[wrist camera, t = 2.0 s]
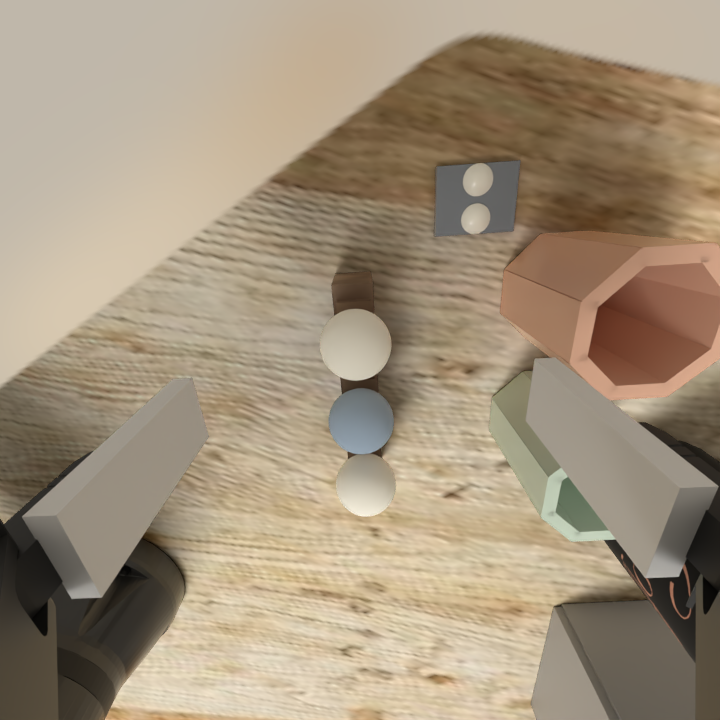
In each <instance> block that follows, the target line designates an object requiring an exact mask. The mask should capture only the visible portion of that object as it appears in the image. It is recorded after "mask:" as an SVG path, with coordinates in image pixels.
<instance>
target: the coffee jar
mask: <svg viewBox="0 0 720 720" xmlns="http://www.w3.org/2000/svg"><path fill="white" fill-rule="evenodd" d="M678 442H679V443H681V444H682V447H686V448H687V449H689V450H690V451H691V452H693V453H694V454H695V456H696V457H699V458H701V459H702V460H703V461H705V462H706V463H707V464H709V465H710V466H712V467H713V468H714V469H716V470H717V471H718V472H720V462H719V461H717V460H716V459H714V458H713V457H711V456H710V455H709V454H707V453H706V452H704V451H703V450H701V449H699V448H697V447H695V446H692V445H690V444H688V443H685V442H682V441H678ZM604 541H605V542H606V544H607V545H608V546H609V548H610V549H611V550H612V552H613V553H614V555H615V556H616V557H617V559H618V560H619V561H620V563H621V564H622V565H623V567H624V568H625V569H626V571H627V572H628V573H629V575H630V576H631V577H632V579H633V580H634V581H635V583H636V584H637V585H638V587H639V588H640V589H641V591H642V592H643V594H644V595H645V596H646V598H647V599H648V600H649V602H650V603H651V604H652V606H653V607H654V608H655V610H656V611H657V612H658V614H659V615H660V616H661V618H662V619H663V620H664V622H665V623H666V624H667V626H668V627H669V629H670V630H671V631H672V633H673V634H674V635H675V637H676V638H677V639H678V641H679V642H680V643H681V645H682V646H683V647H684V649H685V650H686V651H687V653H688V654H689V655H690V657H691V658H692V659H693V661H694V662H695V663H696V603H695V604H694V606H693V608H692V609H690V608H688V607H686V604H687V601H688V599H689V597H690V595H691V593H692V591H693V589H694V587H695V584H696V582H697V580H698V578H699V576H700V574H701V573H700V572H699V571H698V570H697V569H696V568H695V567H694V566H693V564H692V563H691V562H690V561H689V560H688V559H686V561H685V563H684V566H683V568H682V570H681V572H680V575H679V577H662V578H645V577H644V576H643V575H642V573H641V572H640V571H639V569H638V568H637V567H636V565H635V564H634V563H633V561H632V560H631V559H630V558H629V556H628V555H627V554H626V552H625V551H624V550H623V548H622V547H621V546H620V544H619V543H618V542H617V540H616V539H615V540H604Z"/></svg>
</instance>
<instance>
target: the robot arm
mask: <svg viewBox="0 0 720 720" xmlns="http://www.w3.org/2000/svg"><path fill="white" fill-rule="evenodd" d="M526 422H527V423H528V424H529V426H530V427H531V428H532V430H533V431H534V432H535V434H536V435H537V436H538V438H539V439H540V440H541V442H542V443H543V444H544V446H545V447H546V448H547V449H548V451H549V452H550V453H551V455H552V456H553V457H554V459H555V460H556V461H557V463H558V464H559V465H560V467H561V468H562V469H563V471H564V472H565V473H566V475H567V476H568V477H569V478H570V480H571V481H572V482H573V484H574V485H575V486H576V488H577V489H578V490H579V492H580V493H581V494H582V496H583V497H584V498H585V500H586V501H587V502H588V503H589V505H590V506H591V507H592V509H593V510H594V511H595V513H596V514H597V515H598V517H599V518H600V519H601V521H602V522H603V523H604V525H605V526H606V527H607V529H608V530H609V531H610V532H611V534H612V535H613V536H614V538H615V539H616V540H617V542H618V543H619V544H620V546H621V547H622V548H623V550H624V551H625V552H626V554H627V555H628V556H629V558H630V559H631V560H632V561H633V563H634V564H635V565H636V567H637V568H638V569H639V571H640V572H641V573H642V575H643V576H644V577H645V578H662V577H679V575H680V572H681V570H682V568H683V566H684V563H685V561H686V559H688V560H689V561H690V562H691V563H692V564H693V566H694V567H695V568H696V569H697V570H698V571H699V572H700V573H701V574H700V576H699V578H698V580H697V582H696V584H695V587H694V589H693V591H692V593H691V595H690V597H689V599H688V601H687V604H686V607H688V608H690V609H692V608H693V606H694V604H695V603H696V676H695V720H720V472H718V471H717V470H716V469H714V468H713V467H712V466H710V465H709V464H707V463H706V462H705V461H703V460H702V459H701V458H699V457H696V456H695V454H694V453H693V452H691V451H690V450H689V449H687V448H686V447H682V444H681V443H679V442H678V441H677V440H675V439H674V438H673V437H671V436H670V435H669V434H667V433H666V432H664V431H662V430H660V429H658V428H656V427H654V426H652V425H649V424H647V423H645V422H639V423H638V422H636V421H635V420H634V419H633V418H631V417H630V416H629V415H628V414H626V413H625V412H624V411H622V410H621V409H620V408H619V407H617V406H616V405H615V404H614V403H612V402H611V401H610V400H609V399H607V398H606V397H605V396H603V395H602V394H601V393H600V392H598V391H597V390H596V389H595V388H593V387H592V386H591V385H589V384H588V383H587V382H586V381H584V380H583V379H582V378H581V377H579V376H578V375H577V374H576V373H574V372H573V371H572V370H570V369H569V368H568V367H567V366H565V365H564V364H563V363H562V362H560V361H559V360H558V359H556V358H538V359H534V366H533V373H532V380H531V387H530V394H529V401H528V407H527V414H526ZM208 437H209V435H208V432H207V428H206V425H205V421H204V418H203V414H202V411H201V407H200V404H199V400H198V397H197V393H196V390H195V386H194V383H193V379H192V378H181V379H172V380H171V381H170V382H169V383H168V384H167V385H166V386H165V387H163V388H162V389H161V390H160V391H159V392H158V393H157V394H156V395H155V396H154V397H153V398H151V399H150V400H149V401H148V402H147V403H146V404H145V405H144V406H143V407H142V408H140V409H139V410H138V411H137V412H136V413H135V414H134V415H133V416H132V417H131V418H130V419H128V420H127V421H126V422H125V423H124V424H123V425H122V426H121V427H120V428H119V429H117V430H116V431H115V432H114V433H113V434H112V435H111V436H110V437H109V438H108V439H107V440H105V441H104V442H103V443H102V444H101V445H100V446H99V447H98V448H97V449H96V450H94V451H92V452H90V453H88V454H87V455H85V456H83V457H82V458H80V459H78V460H77V461H75V462H74V463H72V464H71V465H70V466H69V467H68V468H67V469H66V470H65V471H63V472H62V473H61V474H60V475H59V478H56V479H54V480H53V481H52V482H51V483H50V484H49V485H48V486H47V488H46V489H43V490H42V491H41V492H40V493H39V494H38V495H36V496H35V497H34V498H33V499H32V500H31V501H30V502H29V503H27V504H26V505H25V506H24V507H23V508H22V509H21V510H20V511H18V512H17V513H16V514H15V515H14V516H13V517H12V518H11V519H9V520H8V521H7V522H6V523H5V524H3V523H2V521H1V519H0V720H105V718H106V716H107V714H108V712H109V709H110V707H111V705H112V703H113V701H114V699H115V697H116V695H117V693H118V691H119V690H120V688H121V687H122V685H123V684H124V683H125V682H126V680H127V679H128V678H129V677H130V675H131V674H132V673H133V672H134V670H135V669H136V668H137V667H138V665H139V664H140V663H141V662H142V660H143V659H144V658H145V657H146V655H147V654H148V653H149V651H150V650H151V649H152V647H153V646H154V645H155V644H156V642H157V641H158V639H159V638H160V637H161V636H162V635H163V634H164V633H165V632H166V631H167V630H168V628H169V627H170V625H171V623H172V622H173V620H174V618H175V615H176V613H177V611H178V609H179V607H180V604H181V602H182V600H183V597H184V590H185V587H184V581H183V578H182V575H181V573H180V571H179V569H178V568H177V566H176V565H175V564H174V562H173V561H172V560H171V559H170V558H169V557H168V556H167V555H166V554H165V553H164V552H162V551H161V550H160V549H158V548H157V547H156V546H154V545H153V544H151V543H149V542H147V541H146V540H144V539H142V536H143V535H144V533H145V532H146V530H147V529H148V527H149V526H150V524H151V523H152V521H153V520H154V518H155V517H156V515H157V514H158V512H159V511H160V509H161V508H162V506H163V505H164V503H165V502H166V500H167V499H168V497H169V496H170V494H171V493H172V491H173V490H174V488H175V487H176V485H177V484H178V482H179V481H180V479H181V478H182V476H183V475H184V473H185V472H186V470H187V469H188V467H189V466H190V464H191V463H192V461H193V460H194V458H195V457H196V455H197V454H198V452H199V451H200V449H201V448H202V446H203V445H204V443H205V442H206V440H207V439H208Z"/></svg>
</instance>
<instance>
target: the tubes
mask: <svg viewBox="0 0 720 720" xmlns="http://www.w3.org/2000/svg"><path fill="white" fill-rule="evenodd" d="M519 170H520V160H519V161H505V162H491V163H477V164H463V165H450V166H437V167H435V222H434V236H435V237H436V236H451V235H465V234H480V233H495V232H509V231H513V229H514V219H515V210H516V200H517V190H518V180H519ZM500 314H501V315H502V316H503V317H505V318H506V319H507V320H508V321H509V322H510V323H511V324H512V325H513V326H514V327H515V328H516V329H517V330H518V331H519V332H520V333H521V334H522V335H523V336H524V337H525V338H526V339H527V340H528V341H529V342H531V343H532V344H533V345H535V346H536V347H537V348H538V349H540V350H541V351H542V352H544V353H545V354H546V355H548V356H549V357H550V358H556V359H558V360H559V361H560V362H562V363H563V364H564V365H565V366H567V367H568V368H569V369H570V370H572V371H573V372H574V373H576V374H577V375H578V376H579V377H581V378H582V379H583V380H584V381H586V382H587V383H588V384H589V385H591V386H592V387H593V388H595V389H596V390H597V391H598V392H600V393H601V394H602V395H603V396H605V397H606V398H607V399H609V400H621V399H638V398H655V397H667V396H669V395H670V394H672V393H673V392H674V391H676V390H677V389H679V388H680V387H681V386H683V385H684V384H685V383H687V382H688V381H690V380H691V379H692V378H694V377H695V376H697V375H698V374H699V373H701V372H702V371H703V370H705V369H706V368H708V367H709V366H710V365H712V364H713V363H715V362H716V361H717V360H719V359H720V247H719V246H718V244H717V243H714V242H703V241H693V240H682V239H672V238H661V237H651V236H640V235H630V234H619V233H609V232H598V231H588V230H586V231H572V232H557V233H542V234H540V235H539V236H538V237H537V238H536V239H535V240H534V241H533V242H531V243H530V244H529V245H528V246H527V247H526V248H525V249H524V250H523V251H522V252H521V253H520V254H519V255H518V256H517V257H516V258H515V259H514V260H513V261H512V262H511V263H510V264H509V265H508V266H507V267H506V268H505V270H504V276H503V286H502V297H501V307H500ZM532 373H533V371H523V372H521V373H520V374H519V375H518V376H517V377H515V378H514V379H513V380H512V381H511V382H510V383H508V384H507V385H506V386H505V387H504V388H503V389H501V390H500V391H499V392H498V393H497V394H496V395H494V396H493V397H492V402H491V413H490V423H489V431H490V433H491V434H492V436H493V438H494V439H495V441H496V443H497V444H498V446H499V448H500V449H501V451H502V453H503V454H504V456H505V458H506V460H507V461H508V463H509V465H510V466H511V468H512V470H513V471H514V473H515V475H516V476H517V478H518V480H519V481H520V483H521V485H522V486H523V488H524V490H525V491H526V493H527V495H528V497H529V498H530V500H531V502H532V503H533V505H534V507H535V508H536V510H537V512H538V513H539V515H540V517H541V518H542V519H543V520H545V521H546V522H547V523H548V524H550V525H551V526H552V527H553V528H555V529H556V530H557V531H558V532H560V533H561V534H562V535H564V536H565V537H566V538H567V539H569V540H570V541H572V542H576V541H595V540H615V538H614V536H613V535H612V534H611V532H610V531H609V530H608V529H607V527H606V526H605V525H604V523H603V522H602V521H601V519H600V518H599V517H598V515H597V514H596V513H595V511H594V510H593V509H592V507H591V506H590V505H589V503H588V502H587V501H586V500H585V498H584V497H583V496H582V494H581V493H580V492H579V490H578V489H577V488H576V486H575V485H574V484H573V482H572V481H571V480H570V478H569V477H568V476H567V475H566V473H565V472H564V471H563V469H562V468H561V467H560V465H559V464H558V463H557V461H556V460H555V459H554V457H553V456H552V455H551V453H550V452H549V451H548V449H547V448H546V447H545V446H544V444H543V443H542V442H541V440H540V439H539V438H538V436H537V435H536V434H535V432H534V431H533V430H532V428H531V427H530V426H529V424H528V423H527V422H526V414H527V407H528V401H529V394H530V387H531V380H532Z"/></svg>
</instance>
